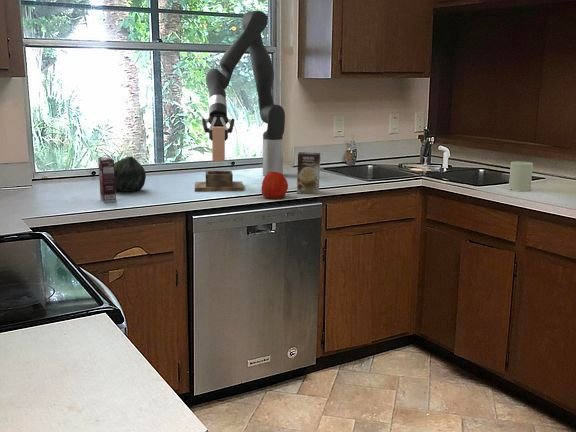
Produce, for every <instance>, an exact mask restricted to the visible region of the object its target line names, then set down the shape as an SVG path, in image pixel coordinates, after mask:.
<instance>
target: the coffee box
mask: <svg viewBox="0 0 576 432" xmlns="http://www.w3.org/2000/svg"><path fill="white" fill-rule="evenodd" d="M320 173H321V153H320V152H303V151H302V152H300V151H299V152H298V153H297V173H296V175H297V178H296V194H309V195H310V194H312V195H319V193H320V175H321V174H320Z"/></svg>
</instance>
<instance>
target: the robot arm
mask: <svg viewBox="0 0 576 432" xmlns="http://www.w3.org/2000/svg"><path fill="white" fill-rule="evenodd" d="M268 20H269V19H268V17H267V14H266V13H265V12H264V11H261V10H251V11H247V12H245V13H244V15H243V16H242V19H241V24H242V28H243V31H242V32H241V34H240V36H239V37H237V39H236V40H234V41H233V43H232V44H231V45H230V46H229V47H228V48H227V50H225V52H224V54H223V55H222V57H221V58H220V60H219V67H220V68H221V71H220V70H219V69H218V68H211V69H209V70H208V71H207V72H206V73H205V74H206V75H205V84H206V88H207V90H208V92H209V93H208V94H209V97H208V98H209V102H208V118H206V119H205V118H204V117H203V118H201V124H202V127H203V131H204V133H205V134H206V133H208V135H209V136H208V138H209V140H210V141H212V139H213V137H212V127H225V142H226V141H227V140H228V138H229V134H232V133H233V129H234V125H235V118H232V119H229V118H228V106H227V93H226V89H227V88H228V86H229V84H230V82H231V79H232V75H233V73H234V69H235V68H236V66H237V65H238V64H239V63H240V61H241V59H242V57H243V55H244V54H245V53H246V51H247V50H248V51H249V56H250V60H251V67H252V73H253V77H254V82H255V87H256V92H257V99H258V110H259V116H260V119H261V120H262V122H263V123H265V124H267V127H266V128H267V129H266V131H264V132H263V133H262V176H264V177H265V176H266V174H267V173H269V172H274V171H275V172H280V173H282V174H283V175H284V155H283V136H284V134H285V126H286V125H285V124H286V113H285V109H284V108H283V107H282V106H281V105H279V104H275V103H274V99H273V93H272V91H273V84H274V79H275V72H274V67H273V66H274V65H273V61H272V58H271V56H270V54H269V52H268V50H267V48H266V46H265V45H264V42H263V39H262V32H263V31H264V30H265V29H266V27H267V26H268ZM208 124H209V125H210V126H209V127H208ZM227 124H228V125H229V127H228V126H227Z"/></svg>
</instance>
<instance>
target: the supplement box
mask: <svg viewBox="0 0 576 432" xmlns="http://www.w3.org/2000/svg"><path fill="white" fill-rule="evenodd" d="M97 163H98V164H97V165H98V177H99V178H98V179H99V194H100V196H99V197H100V200H101V201H102V202H103V203H104V204H105V203H116V202H117V191H116V188H115V170H114V163H115V159H113V158H111V157H110V156H103V157H97Z"/></svg>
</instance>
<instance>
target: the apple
mask: <svg viewBox="0 0 576 432" xmlns="http://www.w3.org/2000/svg"><path fill="white" fill-rule="evenodd" d="M288 190H289V184H288V181H287V179H286V177H285V176H284V173H283V174H282V173H280V172H275V171H274V172H269V173H267V174H266V176H264V178H263V180H262V183H261V194H262V196H263V197H264V198H266V199H270V200H279V199H282V198H284V197H285V196H286V194H287V192H288Z"/></svg>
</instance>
